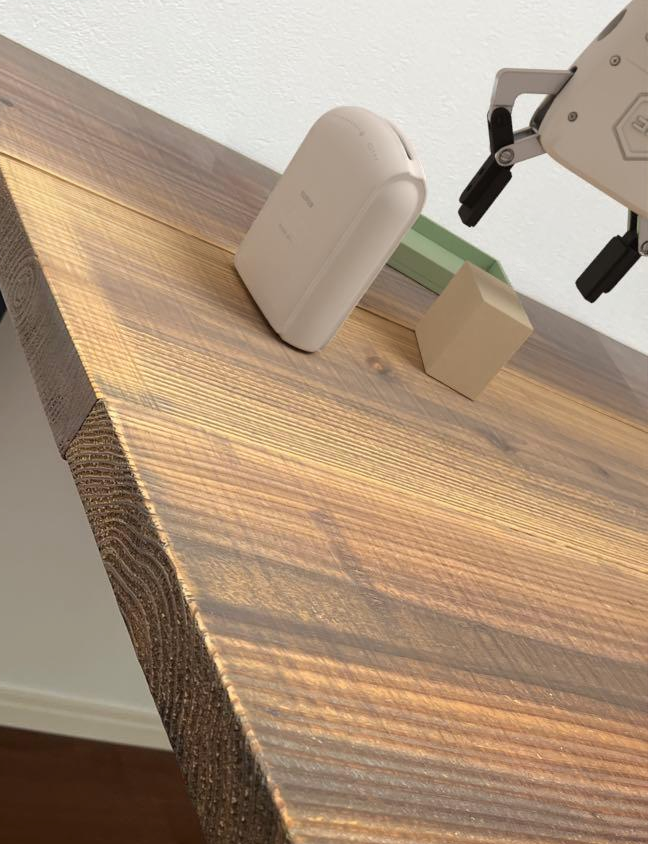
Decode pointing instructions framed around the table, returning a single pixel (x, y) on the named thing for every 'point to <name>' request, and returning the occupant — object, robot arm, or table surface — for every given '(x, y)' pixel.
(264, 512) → the table surface
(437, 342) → the block
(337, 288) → the photo printer
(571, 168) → the robot arm
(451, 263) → the tray
